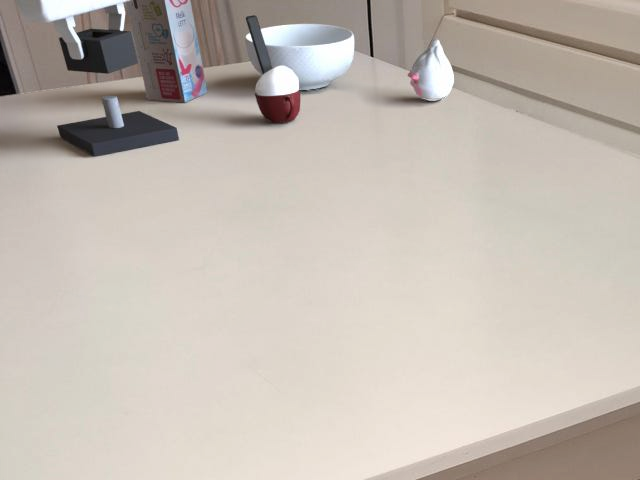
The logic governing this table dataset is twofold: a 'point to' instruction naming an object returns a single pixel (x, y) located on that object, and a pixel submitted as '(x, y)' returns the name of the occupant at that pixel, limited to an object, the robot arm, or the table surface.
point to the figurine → (432, 73)
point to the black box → (102, 51)
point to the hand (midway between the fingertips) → (99, 52)
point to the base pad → (117, 131)
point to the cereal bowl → (307, 51)
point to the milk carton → (167, 49)
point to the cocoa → (274, 82)
